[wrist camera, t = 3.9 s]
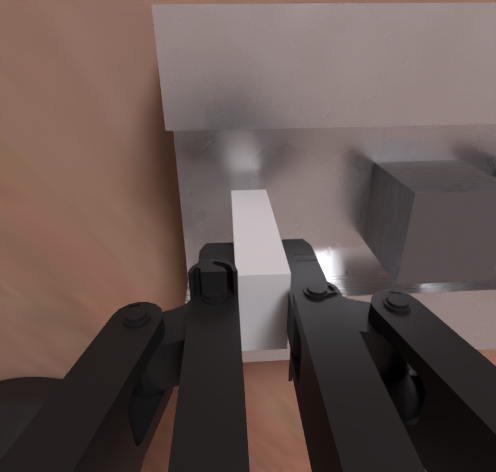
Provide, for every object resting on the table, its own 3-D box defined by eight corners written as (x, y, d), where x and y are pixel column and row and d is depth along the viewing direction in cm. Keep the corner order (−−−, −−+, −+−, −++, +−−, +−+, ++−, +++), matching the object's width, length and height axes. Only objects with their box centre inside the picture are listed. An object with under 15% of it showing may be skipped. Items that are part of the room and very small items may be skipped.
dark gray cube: (439, 236, 19) (490, 280, 15) (363, 239, 19) (396, 284, 15) (459, 160, 17) (521, 190, 13) (374, 162, 17) (415, 193, 13)
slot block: (515, 281, 26) (591, 343, 20) (198, 295, 24) (191, 365, 19) (620, 14, 18) (783, 1, 13) (173, 17, 17) (151, 4, 12)
